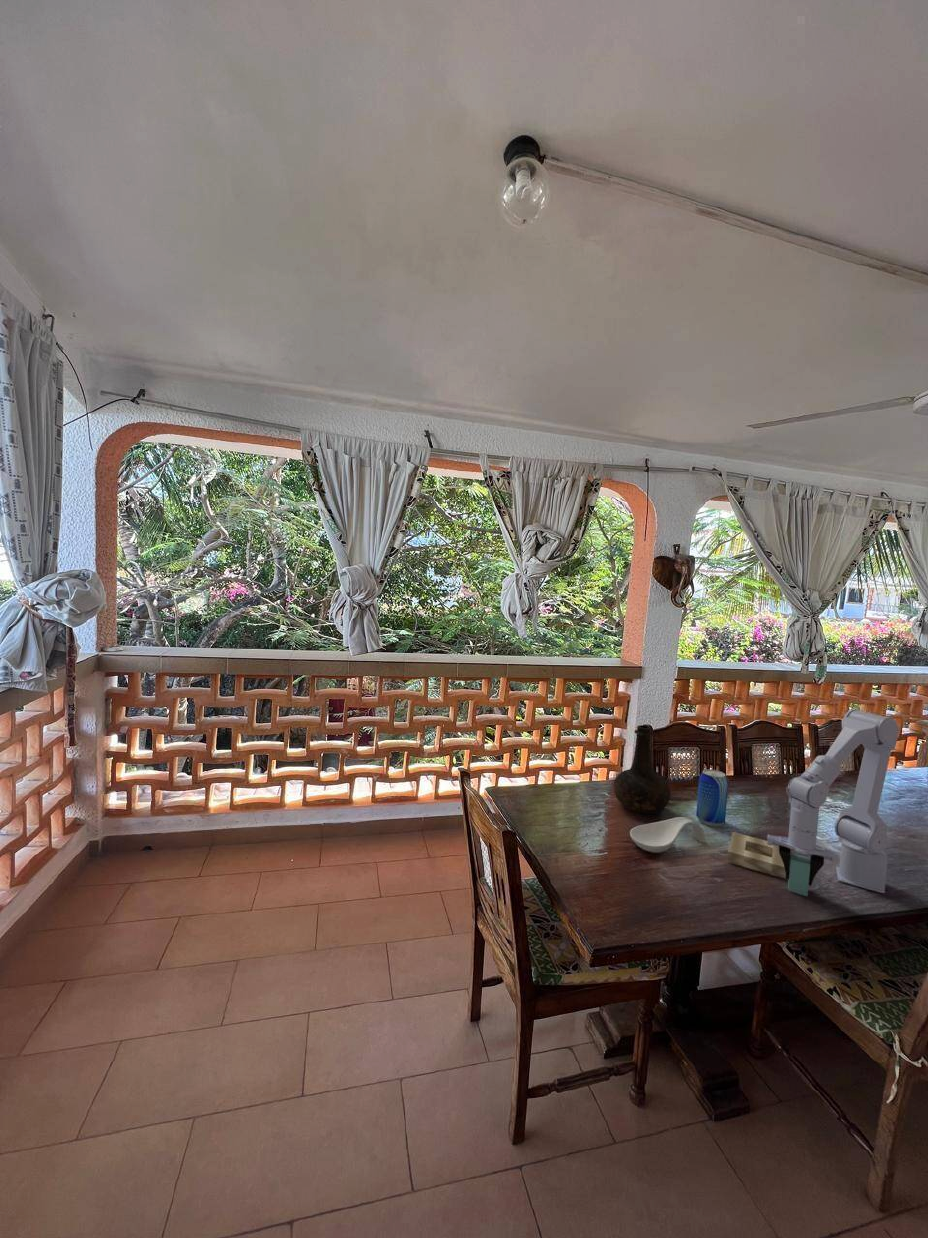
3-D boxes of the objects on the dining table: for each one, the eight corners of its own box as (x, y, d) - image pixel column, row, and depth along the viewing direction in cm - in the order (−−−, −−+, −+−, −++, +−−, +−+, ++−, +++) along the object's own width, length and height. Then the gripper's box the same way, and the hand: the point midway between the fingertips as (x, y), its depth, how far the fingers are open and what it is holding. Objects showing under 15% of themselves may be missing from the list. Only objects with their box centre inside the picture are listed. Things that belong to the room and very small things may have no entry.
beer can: (690, 817, 167) (693, 769, 166) (709, 814, 170) (713, 767, 169) (710, 829, 159) (714, 778, 158) (731, 826, 162) (735, 776, 161)
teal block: (806, 888, 128) (809, 858, 128) (807, 896, 125) (810, 864, 124) (788, 883, 130) (790, 853, 130) (788, 890, 127) (790, 859, 126)
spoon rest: (648, 861, 138) (650, 836, 138) (620, 841, 149) (622, 817, 148) (714, 849, 147) (716, 825, 146) (683, 830, 158) (685, 808, 157)
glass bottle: (680, 816, 167) (687, 732, 165) (636, 823, 160) (642, 735, 159) (642, 795, 183) (648, 718, 182) (601, 800, 177) (606, 721, 175)
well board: (787, 856, 144) (788, 846, 144) (787, 879, 132) (788, 868, 132) (731, 841, 151) (732, 832, 151) (727, 862, 139) (728, 851, 139)
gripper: (768, 824, 127) (764, 877, 128) (840, 842, 119) (835, 898, 120) (769, 815, 133) (765, 865, 134) (838, 831, 125) (833, 884, 126)
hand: (798, 880), depth 127 cm, fingers closed on teal block, 4 cm apart
